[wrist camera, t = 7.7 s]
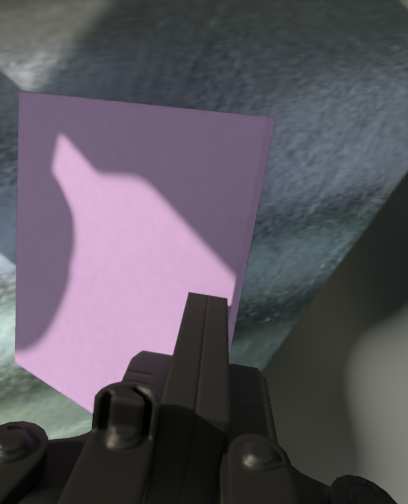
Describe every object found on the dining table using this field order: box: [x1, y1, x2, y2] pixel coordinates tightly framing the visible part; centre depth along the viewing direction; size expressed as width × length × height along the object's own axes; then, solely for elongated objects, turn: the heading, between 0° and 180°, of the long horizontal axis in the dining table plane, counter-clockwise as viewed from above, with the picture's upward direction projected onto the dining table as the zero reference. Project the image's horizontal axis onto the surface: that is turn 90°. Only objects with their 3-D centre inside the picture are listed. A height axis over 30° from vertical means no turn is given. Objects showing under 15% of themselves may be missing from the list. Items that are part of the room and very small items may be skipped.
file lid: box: [15, 91, 275, 414], centre depth 18 cm, size 13×16×1 cm
